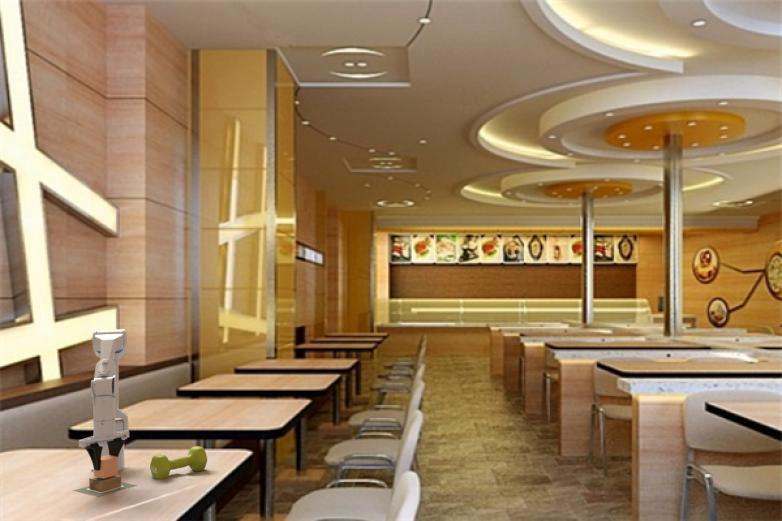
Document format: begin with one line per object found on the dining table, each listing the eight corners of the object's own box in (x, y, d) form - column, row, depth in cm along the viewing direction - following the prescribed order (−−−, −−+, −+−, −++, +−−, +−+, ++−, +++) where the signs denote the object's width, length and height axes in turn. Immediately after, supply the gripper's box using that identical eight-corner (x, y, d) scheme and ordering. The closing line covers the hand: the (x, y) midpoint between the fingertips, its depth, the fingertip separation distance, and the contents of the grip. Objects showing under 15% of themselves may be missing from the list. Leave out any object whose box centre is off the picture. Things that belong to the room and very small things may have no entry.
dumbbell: (160, 483, 198) (159, 458, 198) (147, 478, 203) (147, 454, 204) (210, 471, 210) (209, 447, 210) (196, 466, 215) (196, 444, 216)
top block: (94, 476, 192) (94, 458, 192) (108, 472, 196) (108, 454, 196) (103, 478, 189) (103, 460, 189) (117, 474, 193) (117, 456, 193)
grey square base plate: (73, 492, 191) (73, 490, 191) (111, 481, 201) (111, 479, 201) (98, 499, 184) (98, 496, 184) (136, 487, 194) (136, 485, 194)
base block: (89, 489, 192) (89, 478, 192) (108, 483, 197) (108, 473, 197) (101, 492, 188) (101, 481, 188) (121, 486, 193) (121, 475, 193)
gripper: (88, 425, 185) (89, 476, 184) (135, 416, 197) (136, 463, 196) (74, 423, 189) (74, 472, 188) (120, 414, 201) (121, 460, 200)
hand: (105, 467), depth 193 cm, fingers closed on top block, 4 cm apart
